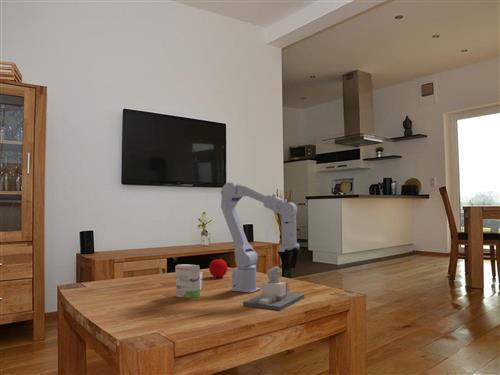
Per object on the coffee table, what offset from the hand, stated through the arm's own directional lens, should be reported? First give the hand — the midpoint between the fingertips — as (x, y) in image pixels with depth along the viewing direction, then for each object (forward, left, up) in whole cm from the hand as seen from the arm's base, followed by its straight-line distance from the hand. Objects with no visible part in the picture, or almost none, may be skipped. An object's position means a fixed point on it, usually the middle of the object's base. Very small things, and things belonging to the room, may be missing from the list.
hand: (289, 269), depth 142 cm
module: (0, -14, -8) cm, 16 cm away
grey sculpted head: (-16, +18, -10) cm, 26 cm away
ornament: (-46, +17, -10) cm, 50 cm away
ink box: (-33, -21, -10) cm, 40 cm away
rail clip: (0, -6, -7) cm, 10 cm away
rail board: (0, -13, -9) cm, 16 cm away
